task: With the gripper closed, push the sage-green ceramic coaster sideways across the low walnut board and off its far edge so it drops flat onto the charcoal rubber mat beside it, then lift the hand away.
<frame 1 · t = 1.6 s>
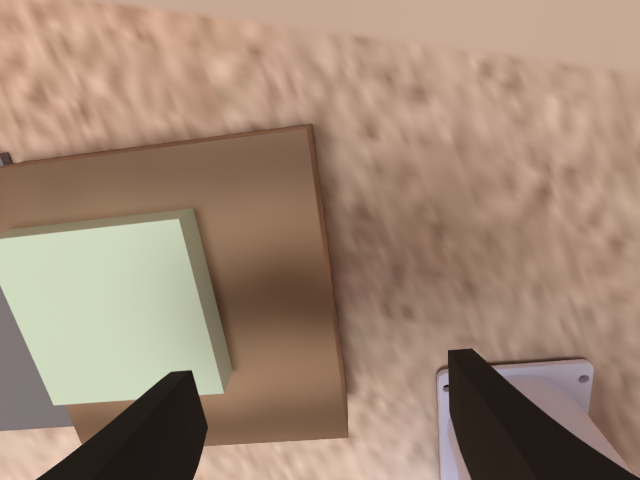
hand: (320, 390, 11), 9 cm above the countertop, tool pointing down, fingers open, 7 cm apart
coaster: (128, 303, 17), point 3 cm above the countertop, touching walnut board
walnut board: (199, 289, 20), on the countertop
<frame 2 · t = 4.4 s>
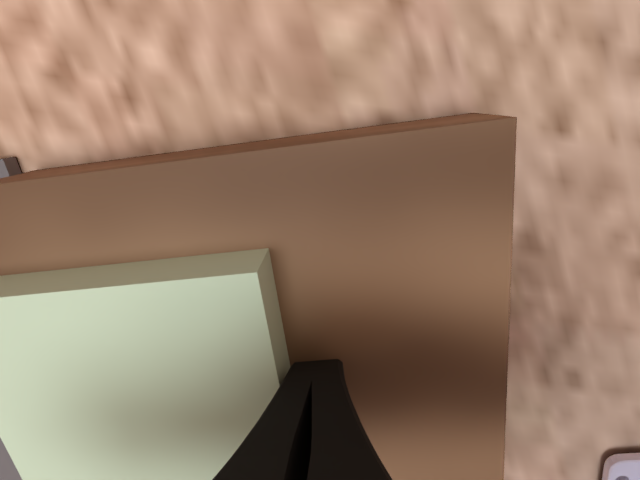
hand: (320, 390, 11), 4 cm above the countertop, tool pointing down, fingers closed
coaster: (161, 384, 12), point 3 cm above the countertop, touching gripper
walnut board: (281, 346, 15), on the countertop
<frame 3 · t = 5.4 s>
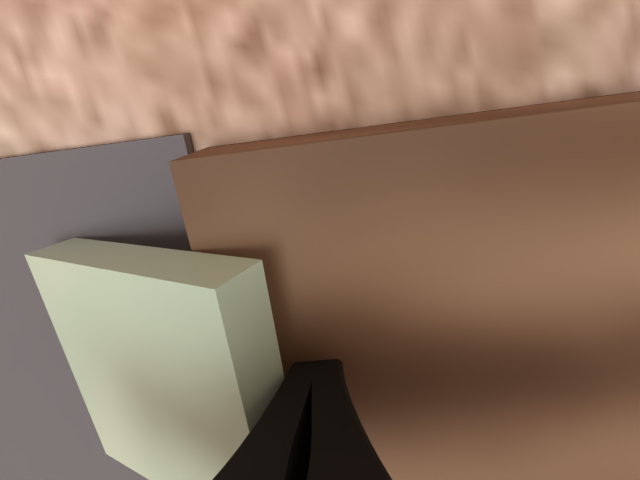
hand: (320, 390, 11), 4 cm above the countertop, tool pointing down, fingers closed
coaster: (184, 364, 12), point 2 cm above the countertop, tilted 27°, touching gripper
walnut board: (441, 333, 14), on the countertop
rubber mat: (67, 363, 15), on the countertop
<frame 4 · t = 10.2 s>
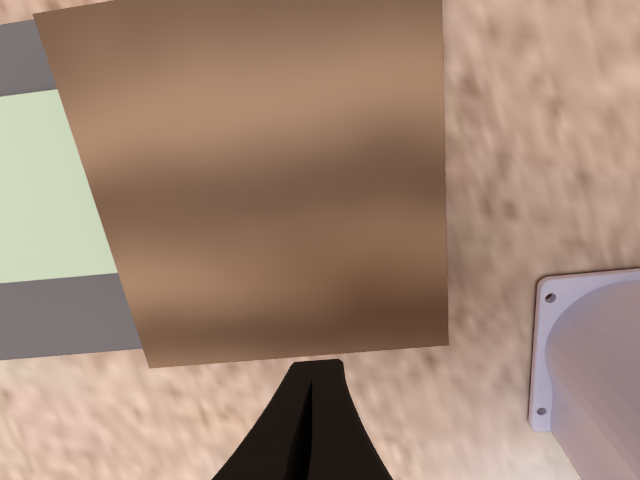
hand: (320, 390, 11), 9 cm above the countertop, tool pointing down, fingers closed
coaster: (38, 189, 18), resting on rubber mat
walnut board: (277, 184, 18), on the countertop
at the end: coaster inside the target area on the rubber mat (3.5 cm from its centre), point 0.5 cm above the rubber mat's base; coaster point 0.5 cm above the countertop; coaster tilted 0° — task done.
